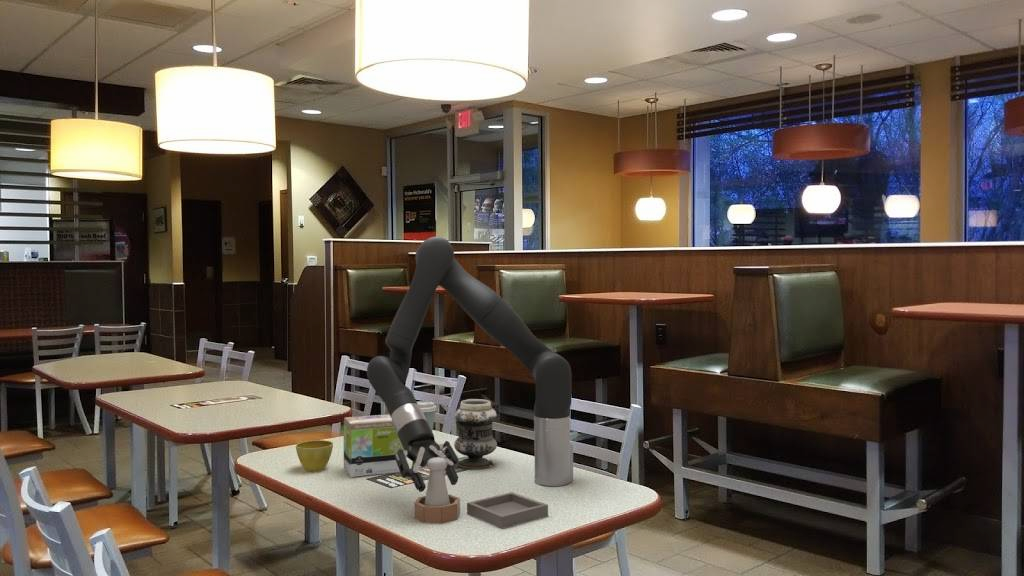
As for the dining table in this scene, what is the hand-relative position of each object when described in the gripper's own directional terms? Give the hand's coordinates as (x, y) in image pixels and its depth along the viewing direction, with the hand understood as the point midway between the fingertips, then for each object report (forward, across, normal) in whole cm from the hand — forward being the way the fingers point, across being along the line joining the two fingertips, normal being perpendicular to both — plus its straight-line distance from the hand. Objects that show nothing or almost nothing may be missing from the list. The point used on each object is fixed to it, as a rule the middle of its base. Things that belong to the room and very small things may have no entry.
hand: (439, 486), depth 175 cm
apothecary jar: (-18, +33, +28) cm, 47 cm away
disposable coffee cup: (-35, +30, +45) cm, 65 cm away
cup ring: (+4, 0, +6) cm, 7 cm away
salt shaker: (+4, 0, +6) cm, 7 cm away
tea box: (-27, +8, +37) cm, 46 cm away
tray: (+11, +13, -1) cm, 17 cm away
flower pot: (-35, -4, +45) cm, 58 cm away
